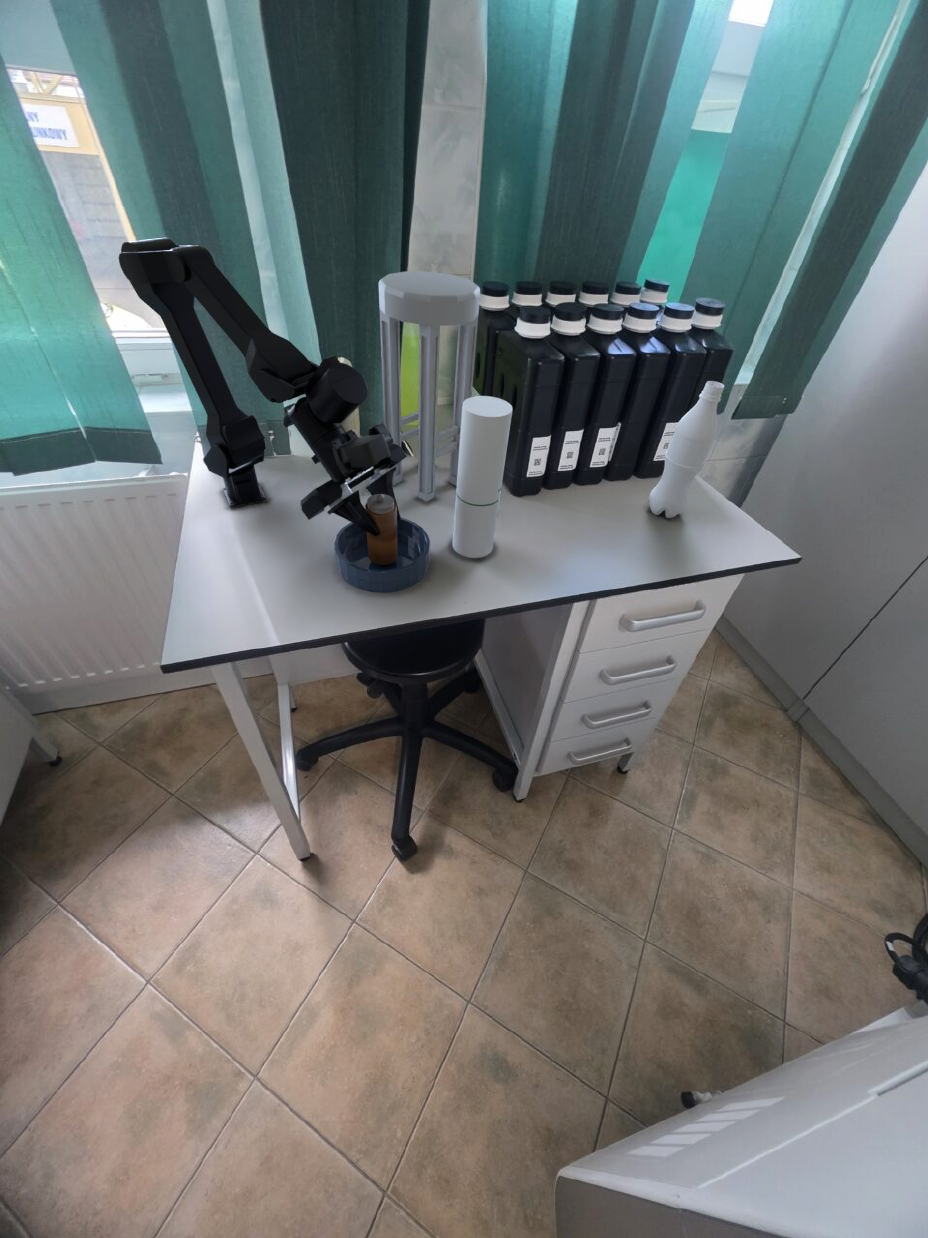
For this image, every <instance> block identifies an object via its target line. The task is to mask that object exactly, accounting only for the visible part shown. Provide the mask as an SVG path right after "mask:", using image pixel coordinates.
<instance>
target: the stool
mask: <svg viewBox="0 0 928 1238" xmlns="http://www.w3.org/2000/svg"><path fill="white" fill-rule="evenodd" d="M480 301H481V288H480V286H479V285H478V284H476V283H475V282H473V281H472V280H471V279H468V278H465V277H461V276H458V275H454V274H450V273H442V272H435V271H434V272H433V271H413V270H412V271H411V270H410V271H409V270H408V271H407V270H406V271H400V272H393V273H388V274H387V275H385V276H384V277H382V278H381V279H380V280H379V281H378V304H379V306H378V307H379V329H380V331H379V332H380V353H381V354H380V356H381V381H382V383H381V384H382V404H383V408H382V409H383V424H384V425H385V426H386V428H387V429H388V430H389V432H390V433H391V436H392V438H393V444H396V445H399V446H400V447H401V448H402V442H404V441H406V440H410V439H412V438H413V437H417V436H418V437H417V439H418V440H417V497H418V498H419V499H421V500H423V501H424V502H428V501H430V500H432V499H435V482H436V481H435V478H436V459H438V458H440V457H442V456H444V455H446V454H449V453H450V460H449V477H448V479H449V480H448V481H449V482H448V483H449V484H451V485H453V486H455V487H457V474H458V460H459V447H460V433H461V420H462V406H463V402H464V401H465V400H466V399H468V398H471V397H473V396H472V395H473V387H474V386H473V385H474V373H475V361H476V360H475V359H476V350H477V338H478V337H477V336H478V324H479V314H480V313H479V312H480ZM400 322H402V323H406V324H407V323H408V324H416V325H419V327H418V340H419V341H418V410H417V411H414V412H412V413H409V414H407V415H404V416H402V395H401V394H402V393H401V391H402V390H401V387H402V386H401V328H400V327H401V325H400ZM442 326H443V327H445V326H446V327H447V326H457V342H456V344H457V345H456V360H455V376H454V378H455V379H454V394H453V412H452V426H450V427H448V428H445V429H443V430H441V431H438V432H437V424H438V423H437V422H438V421H437V420H438V394H439V393H438V392H439V367H440V339H441V338H440V337H441V327H442ZM416 421H418V426H415V427H413V428H411V429H408V430H405V431H402V427H404V426H406V425H408V424H411V423H414V422H416ZM450 437H451V442H448V443H446V444H444V445H441V446H439V447H437V443H439V442H442V441H443V440H446V439H448V438H450ZM388 447H389V446H388ZM402 461H403V460H402ZM402 461H400V462H399V463H398V464H396V465H395V466H394V467H396V471H395V472H394V474H393V480H392V485H394V486H395V485H397V484H400V483H402V482H403V469H402V468H403V463H402ZM394 467H392V468H391V469H393V468H394Z"/></svg>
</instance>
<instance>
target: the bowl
mask: <svg viewBox="0 0 928 1238" xmlns="http://www.w3.org/2000/svg"><path fill="white" fill-rule="evenodd" d="M333 547H334V548H333V549H334V555H335V556H334V557H335V562H336V570H337V572H338V574H339V575H340V578H342V579H343V580H344V581H346V582H347V584H349V585H351V586H353V587H355V588H357V589H360V590H364V591H366V592H367V591H368V592H371V593H389V592H390V593H391V592H398V591H401V590H404V589H408V588H409V587H412V586H413V585H415V584H418V583H419V582H420V581H421V580H422V579H423V578H424V577H425V576H426V574H427V573H428V570H429V568H430V562H431V561H430V559H431V558H430V557H431V540H430V537H429V535H428V532H426V530H425V529H424V528H423V527H422V526H420V525H419V524H417V523H416V522H414V521H412V520H411V519H408V518H404V517H401V519H400V520H398V521H397V547H398V557H397V559H396V561H394V562H393V563H391V564H388V565H378V564H375V563H373V562H371V561H370V560H369V558H368V545H367V531H365V530H364V529H362V528H361V527H359V526H357V525H356V524H354V523H352V522H349V523H347V524H346V525H344V526H343V527H342V528H341V529H340V530H339V531H338V532H337V533H336V535H335V538H334V542H333Z"/></svg>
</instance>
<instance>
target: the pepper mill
mask: <svg viewBox="0 0 928 1238" xmlns="http://www.w3.org/2000/svg"><path fill="white" fill-rule="evenodd" d="M397 506H398V505H397ZM397 506H396V504H395V503H394V499H393V498H392V497H391V496H389V495H385V494H376V495H370V496H369V497H368V498H367V500H366V503H365V505H364V508H365V510H366V511H367V512H368V514H369V515H370V517H371V518H372V520H373V521H374V523H375V524H376V526H377V528H378V530H379V531H380V535H378V536H374V535H372V534H370V533H369V532H367V545H368V558H369V560H370V561H371V562H373V563H375V564H378V565H388V564H391V563H393V562H394V561H396V559H397V557H398V547H397Z"/></svg>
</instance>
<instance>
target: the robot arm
mask: <svg viewBox="0 0 928 1238" xmlns="http://www.w3.org/2000/svg"><path fill="white" fill-rule="evenodd" d="M118 263H119V266H120V269H121V271H122V273H123V274H124V276H125V277H126V279H127V280H128V281H129V283H130V285H131V286H132V288H133V290H134V292H135V293H136V295H137V297H138V298H139V299H140V300H141V301H142V302H143V303H144V304H146V306H148V307H149V308H150V309H151V310H153V311H154V312H155V313H156V314H157V315H158V316H159V318H160V319H161V321H162V323H163V325H164V327H165V329H166V331H167V334H168V335H169V338H170V340H171V342H172V344H173V346H174V348H175V350H176V352H177V355H178V356H179V358H180V361H181V363H182V365H183V367H184V369H185V371H186V373H187V376H188V377H189V379H190V382H191V384H192V385H193V388H194V391H195V392H196V394H197V396H198V399H199V401H200V403H201V405H202V407H203V409H204V411H205V413H206V429H205V436H206V438H207V441H208V444H209V447H210V448H209V450H208V452H207V453H206V455H205V456H204V458H203V462H204V464H205V466H206V468H207V470H208V472H211V473H213V474H214V475H217V476H219V477H220V478H222V480H223V483H224V488H222V491H223V493H224V496H225V498H226V501H227V504H228V507H229V508H236V507H241V506H246V505H252V504H256V503H261V502H265V501H267V498H266V495H265V493H264V491H263V488H262V487H261V486H260V483H259V481H258V477H257V473H256V468H255V466H256V465H257V464H259V463H262V462H264V461H265V450H266V448H267V447H266V442H265V435H264V434H263V433H262V431H261V429H260V426H259V423H258V421H257V418H256V417H255V416H254V415H253V414H251V415H248V414H247V413H246V412H245V411H243V410H242V409H241V408H240V407H239V406H238V405H237V404H236V401H235V398H234V396H233V394H232V392H231V389H230V387H229V385H228V383H227V382H228V381H226V377H225V376H224V374H223V371H222V369H221V366H220V364H219V363H218V360H217V357H216V355H215V352H214V351H213V348H212V346H211V344H210V342H209V339H208V337H207V334H206V333H205V330H204V328H203V326H202V323H201V321H200V319H199V316H198V315H197V312H196V310H195V300H197V302H198V303H199V304H200V305H201V306H202V307H203V308H204V310H205V311H206V312H207V313H208V315H209V316H210V317H211V318H212V319H213V320H214V321H215V323H216V324H217V325H218V326H219V327H220V329H221V330H222V331H223V332H224V333H225V335H226V336H227V337H228V338H229V339H230V341H232V343H233V344H234V345H235V347H236V348H237V349H238V350H239V351H240V353H241V354H242V356H243V357H244V359H245V364H246V369H247V374H248V376H249V377H250V379H251V380H252V381H253V384H255V386H256V387H257V389H258V390H259V392H260V393H261V394H262V396H263V397H264V398H265V399H266V400H267V401H268V402H270V403H275V404H282V403H284V402H286V401H291V400H293V399H297V398H298V397H300V396H301V397H300V398H299V399H297V400H296V402H293V403H291V404H288V405H286V406H284V407H283V412H284V414H283V420H282V422H283V426H284V427H285V428H288V427H291V426H293V425H294V427H295V428H296V430H297V431H298V432H299V434H300V436H301V437H302V438H303V440H304V441H305V442H306V444H307V445H308V447H309V448H310V450H311V451H312V452H313V454H314V455H312V456H311V458H310V459H311V460H312V462H313V463H314V464H315V465H316V464H318V463H320V464H321V466H322V467H323V468H324V470H325V471H326V472H327V474H328V475H329V477H330V480H327V481H326V482H325V483H323V484H321V485H319V486H317V487H316V488H313V489H312V491H310V492H309V493H308V494H307V495H305V497H303V499H301V500H300V507H301V512H302V513H303V514H304V516H305V517H306V518H307V519H308V521H309V520H312V519H313V518H314V517H317V516H318V515H320V514H321V513H323V512H324V511H325V508H327V507H329V508H330V509H329V510H328V511H326V513H327V514H328V515H331V514H334V515H336V516H338V517H340V518H342V519H344V520H346V521H348V522H349V523H351V522H352V523H354V524H356V525H357V526H359V527H361V528H362V529H364V530H365V531H367V532H369V533H370V534H372V535H374V536H378V535H380V531H379V530H378V528H377V526H376V524H375V523H374V521H373V520H372V518H371V517H370V515H369V514H368V512H367V511H366V510H365V506H364V505H363V503H362V501H361V495H360V489H357V490H356V491H354V492H353V491H352V489H354V488H355V487H357V486H358V485H360V484H361V483H363V482H365V481H367V483H368V484H369V485H367V486H366V487H365V490H367V492H368V493H369V494H370V496H372V495H376V494H385V495H389V496H391V497H392V498H393V499H394V503H395V504H396V506H397V521H398V520H400V519H401V518H402V517H401V513H400V509H399V506H398V503H397V498H396V496H395V495H396V494H395V490H394V486H393V484H392V480H393V474H394V472H395V471H396V467H394V466H395V465H396V464H398V463H399V462H400V461H403V460H405V459H406V458H407V457H408V456H407V454H406V453H405V451H404V450H403V448H402V446H401V447H400V446H399V445H396V444H393V438H392V436H391V433H390V432H389V430H388V429H387V428H386V426H385V425H384V422H381V423H377V424H375V425H372V426H370V427H369V428H368V434H366V435H365V436H361V437H358V436H357V435H356V433H355V432H354V431H352V429H351V430H349V431H347V432H346V431H345V429H344V428H343V426H342V425H341V423H342V422H343V421H345V420H346V419H347V418H348V417H349V416H350V415H351V414H352V413H353V412H354V411H355V410H356V409H357V408H358V409H359V407H360V406H361V405H362V404H363V403H364V402H365V401H366V399H367V398H368V394H369V390H368V388H369V387H368V384H367V382H366V379H365V378H364V376H363V375H362V373H361V372H358V371H357V370H356V369H355V368H354V367H353V366H352V367H351V366H349V365H347V364H345V363H340V361H339V360H338V358H339V357H338V356H337V355H336V354H333V355H330V356H327V357H324V358H323V359H322V360H321V362H320V363H319V364H317V363H316V362H314V361H312V360H310V359H308V358H307V357H306V356H305V354H304V353H302V351H301V350H300V349H299V348H297V347H296V346H295V344H294V343H292V342H291V341H290V340H288V339H286V338H285V337H282V336H280V335H278V334H277V333H274V332H273V331H272V330H270V329H269V327H267V326H266V324H265V323H264V322H263V321H262V320H261V318H260V317H259V315H257V313H256V312H255V311H254V310H253V309H252V307H251V306H250V305H249V304H248V303H247V301H246V300H245V299H244V297H242V295H241V294H240V293H239V292H238V290H237V289H236V288H235V287H234V285H233V284H232V283H231V282H230V281H229V280H228V279H227V277H226V276H225V274H223V273H222V271H221V270H220V268H218V266H217V265H216V263H215V260H214V258H213V256H212V253H211V252H210V251H209V250H208V249H207V248H206V247H204V246H201V245H198V244H194V245H193V244H192V245H179V244H176V243H175V242H174V241H173V240H172V239H171V238H169V237H159V238H151V239H150V238H148V239H139V240H132V241H124V242H123V243H122V244H121V248H120V253H119V255H118ZM303 395H305V396H303ZM388 446H389V447H388ZM392 467H394V468H393V469H391V468H392ZM348 479H349V480H348Z"/></svg>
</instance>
